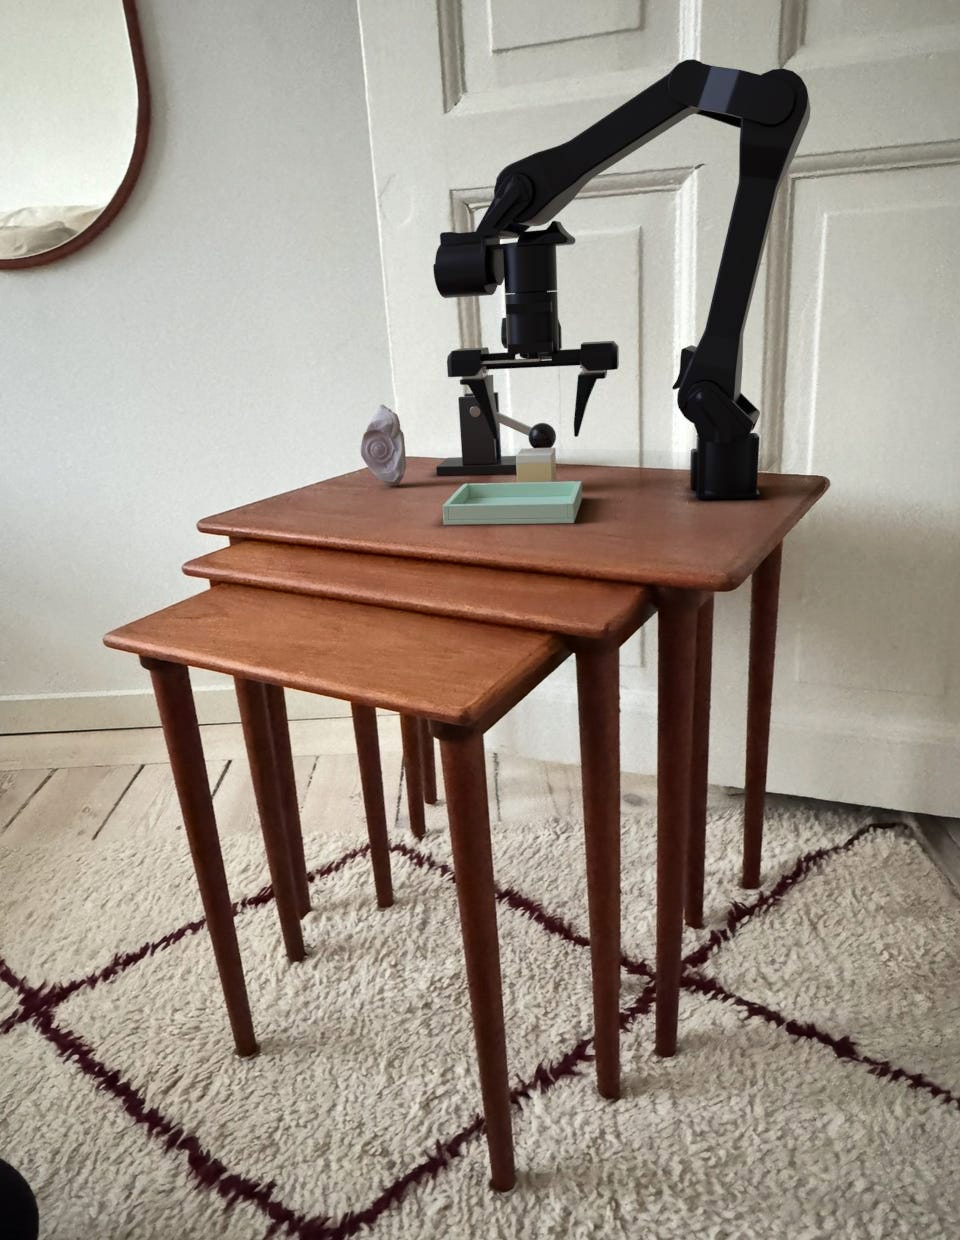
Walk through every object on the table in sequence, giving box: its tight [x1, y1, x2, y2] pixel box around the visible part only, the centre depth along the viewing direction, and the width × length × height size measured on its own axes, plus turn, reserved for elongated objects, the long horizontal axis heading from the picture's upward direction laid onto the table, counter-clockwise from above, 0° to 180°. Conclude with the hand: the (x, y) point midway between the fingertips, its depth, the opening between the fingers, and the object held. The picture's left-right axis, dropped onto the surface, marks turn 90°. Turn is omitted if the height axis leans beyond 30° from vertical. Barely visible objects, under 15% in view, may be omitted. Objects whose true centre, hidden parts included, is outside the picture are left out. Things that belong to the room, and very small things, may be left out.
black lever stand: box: [435, 391, 517, 477], centre depth 117 cm, size 11×7×10 cm, turn 80°
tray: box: [442, 480, 583, 526], centre depth 94 cm, size 13×11×2 cm
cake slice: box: [515, 447, 557, 483], centre depth 103 cm, size 4×5×4 cm
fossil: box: [360, 404, 407, 487], centre depth 110 cm, size 6×4×10 cm, turn 68°
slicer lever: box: [497, 411, 557, 448], centre depth 116 cm, size 12×4×4 cm, turn 79°
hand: (536, 437), depth 102 cm, fingers open, 9 cm apart
